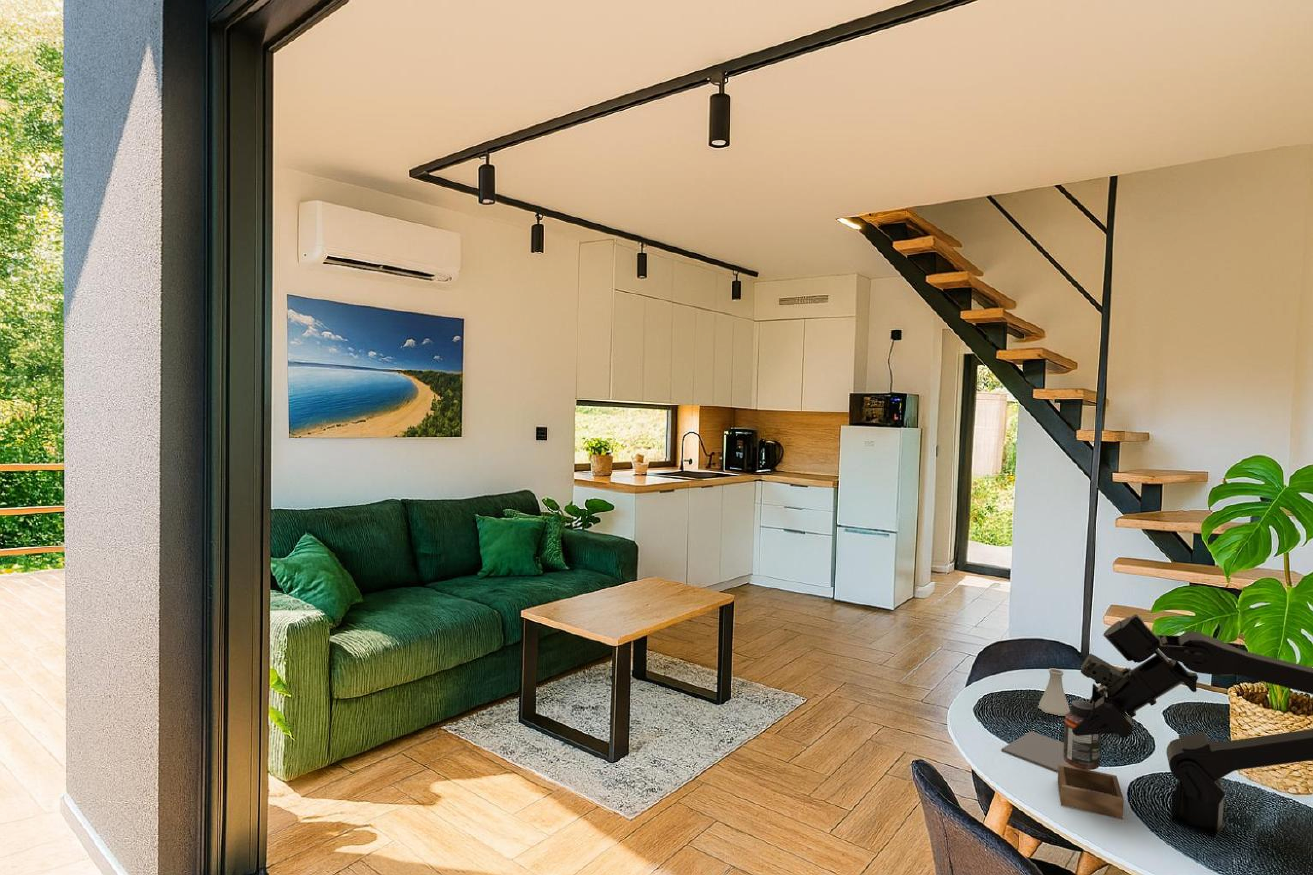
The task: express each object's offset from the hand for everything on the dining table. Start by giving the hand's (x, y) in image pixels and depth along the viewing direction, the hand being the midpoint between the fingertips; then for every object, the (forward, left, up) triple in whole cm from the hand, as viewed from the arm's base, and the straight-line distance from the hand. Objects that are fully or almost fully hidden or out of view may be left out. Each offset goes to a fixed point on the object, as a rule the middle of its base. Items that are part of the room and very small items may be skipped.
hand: (1074, 726), depth 138 cm
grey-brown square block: (+9, -13, -12) cm, 20 cm away
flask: (+18, -37, -13) cm, 43 cm away
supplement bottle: (-1, 0, -7) cm, 7 cm away
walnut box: (-3, 0, -12) cm, 13 cm away
